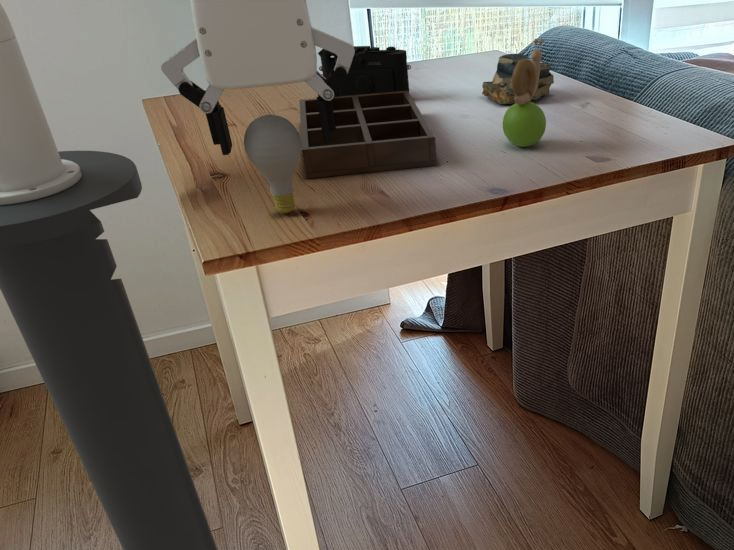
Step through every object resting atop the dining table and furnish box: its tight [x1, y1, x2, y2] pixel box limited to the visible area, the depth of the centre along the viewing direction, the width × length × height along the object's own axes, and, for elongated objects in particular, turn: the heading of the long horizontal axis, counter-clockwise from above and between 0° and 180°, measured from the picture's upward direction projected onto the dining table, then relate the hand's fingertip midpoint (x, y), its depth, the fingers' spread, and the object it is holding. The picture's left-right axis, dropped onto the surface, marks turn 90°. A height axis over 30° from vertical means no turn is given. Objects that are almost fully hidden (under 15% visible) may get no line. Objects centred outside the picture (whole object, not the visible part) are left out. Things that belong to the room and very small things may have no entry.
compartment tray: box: [298, 91, 438, 179], centre depth 89 cm, size 15×23×3 cm
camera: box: [317, 45, 412, 97], centre depth 107 cm, size 14×7×8 cm, turn 86°
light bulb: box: [243, 114, 302, 215], centre depth 69 cm, size 6×5×10 cm
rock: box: [481, 53, 555, 105], centre depth 105 cm, size 9×9×6 cm
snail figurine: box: [502, 38, 547, 148], centre depth 85 cm, size 5×6×12 cm
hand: (278, 145), depth 68 cm, fingers open, 9 cm apart
